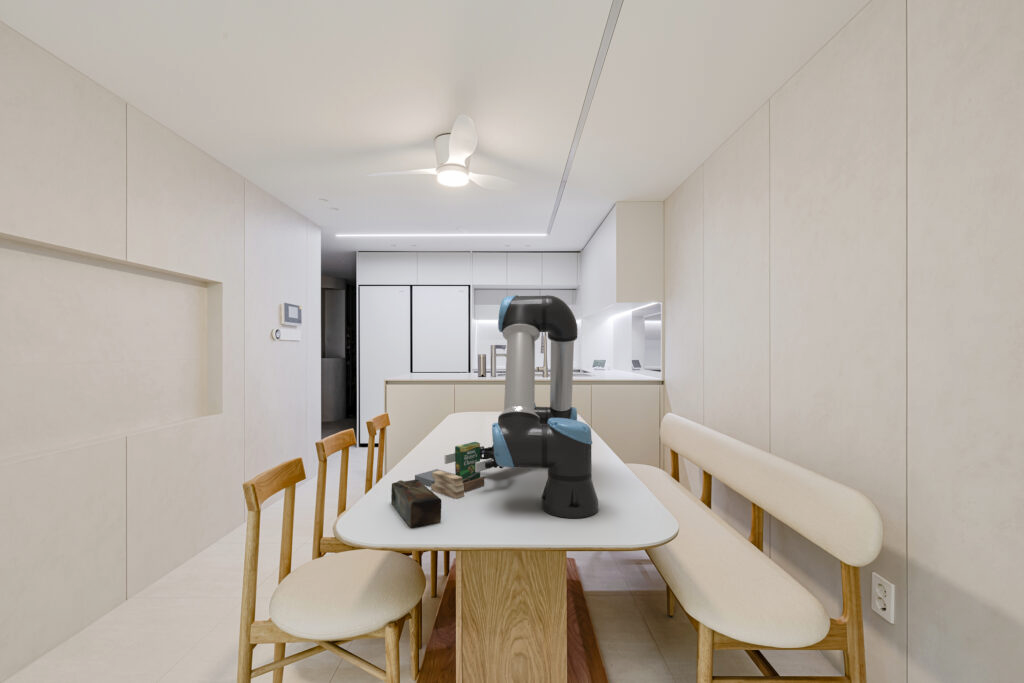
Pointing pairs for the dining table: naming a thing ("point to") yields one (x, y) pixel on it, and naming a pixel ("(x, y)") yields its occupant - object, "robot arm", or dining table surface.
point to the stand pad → (427, 477)
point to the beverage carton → (416, 503)
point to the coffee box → (467, 461)
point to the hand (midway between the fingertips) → (460, 463)
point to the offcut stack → (448, 484)
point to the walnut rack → (473, 484)
